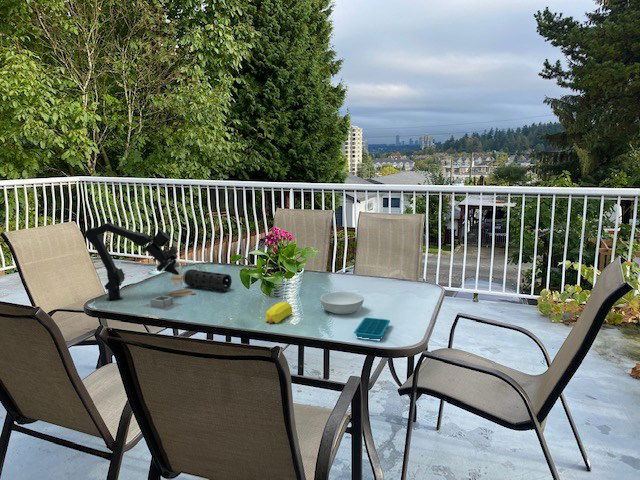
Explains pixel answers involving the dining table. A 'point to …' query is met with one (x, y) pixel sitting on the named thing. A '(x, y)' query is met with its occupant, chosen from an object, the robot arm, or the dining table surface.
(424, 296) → the dining table surface
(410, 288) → the dining table surface
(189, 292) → the pad
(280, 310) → the yellow oblong piece
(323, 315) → the dining table surface
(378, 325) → the ice cube tray
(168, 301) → the socket panel
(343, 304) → the serving bowl
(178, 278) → the plug
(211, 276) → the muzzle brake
